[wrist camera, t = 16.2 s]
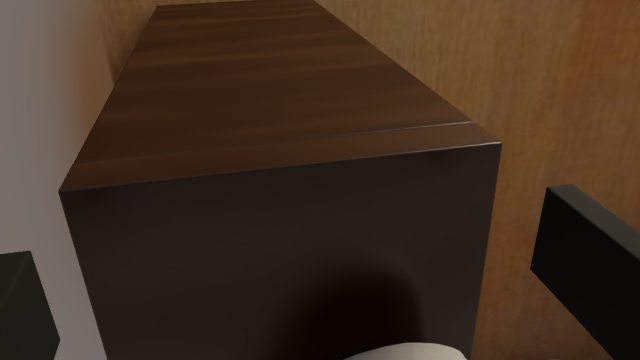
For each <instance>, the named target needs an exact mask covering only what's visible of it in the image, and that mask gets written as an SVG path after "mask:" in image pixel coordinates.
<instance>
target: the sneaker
mask: <svg viewBox="0 0 640 360" xmlns="http://www.w3.org/2000/svg"><path fill="white" fill-rule="evenodd" d="M344 360H466V358H465V357H464V355H463V354H462V353H461V351H458V350H456V349H454V348H452V347H448V346H444V345H440V344H432V343H402V344H396V345H390V346H385V347H381V348H378V349H374V350H370V351H367V352H363V353H360V354H357V355H354V356H352V357H349V358H346V359H344Z"/></svg>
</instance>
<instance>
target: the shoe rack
mask: <svg viewBox="0 0 640 360" xmlns="http://www.w3.org/2000/svg"><path fill="white" fill-rule="evenodd" d="M501 150H502V142H501V141H499V140H498V139H497V138H495V137H494V136H493V135H491V134H490V133H489V132H487V131H486V130H485V129H483V128H482V127H481V126H479V125H478V124H477V123H474V121H472V120H471V119H470V118H468V117H467V116H466V115H465V114H463V113H462V112H461V111H459V110H458V109H457V108H455V107H454V106H453V105H451V104H450V103H449V102H447V101H446V100H445V99H443V98H442V97H441V96H439V95H438V94H437V93H435V92H434V91H433V90H432V89H430V88H429V87H428V86H426V85H425V84H424V83H422V82H421V81H420V80H418V79H417V78H416V77H414V76H413V75H412V74H410V73H409V72H408V71H406V70H405V69H404V68H403V67H401V66H400V65H399V64H397V63H396V62H395V61H393V60H392V59H391V58H389V57H388V56H387V55H385V54H384V53H383V52H381V51H380V50H379V49H377V48H376V47H375V46H374V45H372V44H371V43H370V42H368V41H367V40H366V39H364V38H363V37H362V36H360V35H359V34H358V33H356V32H355V31H354V30H352V29H351V28H350V27H348V26H347V25H346V24H345V23H343V22H342V21H341V20H339V19H338V18H337V17H335V16H334V15H333V14H331V13H330V12H329V11H327V10H326V9H325V8H323V7H322V6H321V5H319V4H318V3H317V2H315V1H314V0H252V1H234V2H216V3H198V4H181V5H163V6H157V7H156V9H155V11H154V13H153V15H152V17H151V19H150V21H149V23H148V24H147V26H146V28H145V30H144V32H143V34H142V36H141V38H140V39H139V41H138V43H137V45H136V47H135V49H134V51H133V53H132V54H131V56H130V58H129V60H128V62H127V64H126V66H125V68H124V69H123V71H122V73H121V75H120V77H119V79H118V81H117V83H116V84H115V86H114V88H113V90H112V92H111V94H110V96H109V98H108V100H107V102H106V104H105V105H104V107H103V109H102V111H101V113H100V115H99V116H98V119H97V120H96V122H95V124H94V126H93V128H92V130H91V131H90V133H89V135H88V137H87V139H86V141H85V143H84V145H83V147H82V148H81V150H80V152H79V154H78V156H77V158H76V160H75V162H74V164H73V165H72V167H71V168H70V170H69V172H68V174H67V176H66V178H65V180H64V182H63V183H62V185H61V187H60V189H59V191H58V193H59V196H60V200H61V203H62V206H63V210H64V213H65V217H66V220H67V223H68V227H69V230H70V234H71V237H72V241H73V244H74V247H75V251H76V254H77V258H78V261H79V265H80V268H81V271H82V275H83V278H84V282H85V285H86V289H87V291H88V295H89V299H90V302H91V306H92V309H93V312H94V315H95V319H96V323H97V326H98V329H99V333H100V336H101V339H102V343H103V347H104V350H105V353H106V357H107V360H344V359H346V358H349V357H352V356H354V355H357V354H360V353H363V352H367V351H370V350H374V349H378V348H381V347H385V346H390V345H396V344H402V343H432V344H440V345H444V346H448V347H452V348H454V349H456V350H458V351H461V353H462V354H463V355H464V357H465V358H466V360H471V356H472V349H473V342H474V335H475V328H476V321H477V314H478V308H479V301H480V294H481V287H482V280H483V273H484V266H485V260H486V253H487V246H488V239H489V232H490V225H491V218H492V211H493V205H494V198H495V191H496V184H497V177H498V170H499V163H500V157H501Z"/></svg>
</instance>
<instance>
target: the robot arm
mask: <svg viewBox="0 0 640 360" xmlns="http://www.w3.org/2000/svg"><path fill="white" fill-rule="evenodd" d="M530 269H531V270H532V272H533V273H534V274H535V275H536V276H537V277H538V278H539V279H540V280H541V281H542V282H543V283H544V285H545V286H546V287H547V288H548V289H549V290H550V291H551V292H552V293H553V294H554V295H555V296H556V297H557V299H558V300H559V301H560V302H561V303H562V304H563V305H564V306H565V307H566V308H567V309H568V310H569V312H570V313H571V314H572V315H573V316H574V317H575V318H576V319H577V320H578V321H579V322H580V323H581V324H582V326H583V327H584V328H585V329H586V330H587V331H588V332H589V333H590V334H591V335H592V336H593V337H594V339H595V340H596V341H597V342H598V343H599V344H600V345H601V346H602V347H603V348H604V349H605V350H606V351H607V353H608V354H609V355H610V356H611V357H612V358H613V359H614V360H640V233H639V232H637V231H636V230H635V229H633V228H632V227H630V226H629V225H628V224H626V223H625V222H624V221H622V220H621V219H619V218H618V217H617V216H615V215H614V214H613V213H611V212H610V211H608V210H607V209H606V208H604V207H603V206H602V205H600V204H599V203H597V202H596V201H595V200H593V199H592V198H591V197H589V196H588V195H586V194H585V193H584V192H582V191H581V190H580V189H578V188H577V187H575V186H574V185H573V184H568V185H560V186H552V187H547V188H546V193H545V198H544V203H543V208H542V213H541V218H540V223H539V228H538V233H537V238H536V243H535V248H534V253H533V257H532V262H531V267H530ZM59 342H60V337H59V334H58V332H57V329H56V326H55V323H54V319H53V316H52V314H51V311H50V308H49V305H48V302H47V299H46V296H45V293H44V290H43V287H42V284H41V281H40V278H39V275H38V272H37V269H36V266H35V263H34V260H33V257H32V254H31V251H23V252H15V253H6V254H0V360H54V357H55V354H56V351H57V348H58V345H59Z"/></svg>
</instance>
